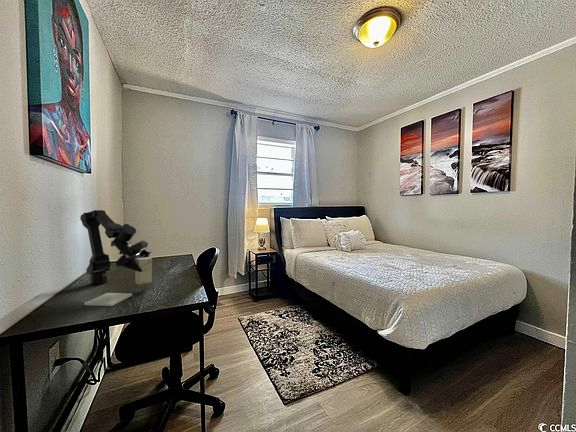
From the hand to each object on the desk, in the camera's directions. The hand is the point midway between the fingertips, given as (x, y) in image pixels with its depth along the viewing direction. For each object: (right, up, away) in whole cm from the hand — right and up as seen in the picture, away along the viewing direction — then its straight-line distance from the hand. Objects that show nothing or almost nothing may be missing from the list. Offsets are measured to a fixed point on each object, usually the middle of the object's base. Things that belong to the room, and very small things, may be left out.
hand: (146, 269), depth 117 cm
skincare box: (-1, -7, 0) cm, 7 cm away
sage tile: (-9, -11, -12) cm, 19 cm away
